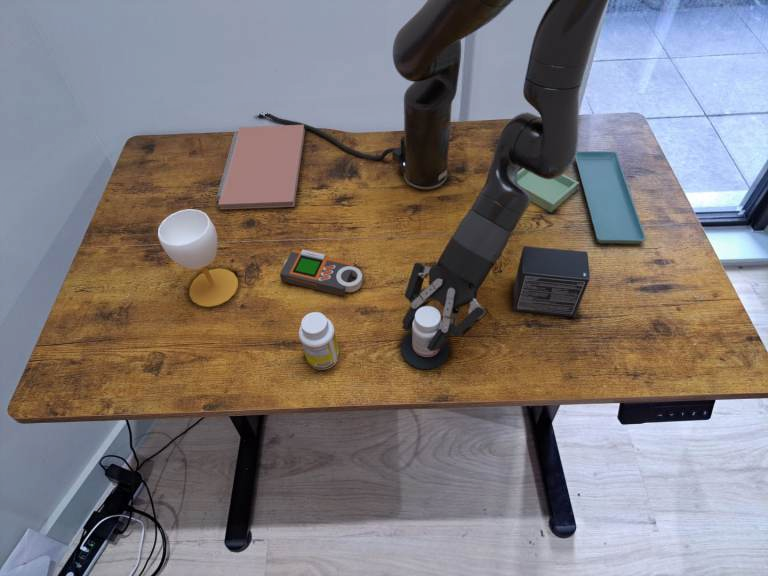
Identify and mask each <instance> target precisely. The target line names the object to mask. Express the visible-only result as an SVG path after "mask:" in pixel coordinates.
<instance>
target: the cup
mask: <svg viewBox="0 0 768 576" xmlns="http://www.w3.org/2000/svg"><path fill="white" fill-rule="evenodd" d="M157 238H158V240H159V243H160V245H161V247H162V249H163V251H164V253H166V254H167V256H168V257H169V258H170V259H171V260H172V261H173V262H175V263H176V264H178V265H179V266H181V267H183V268H185V269H187V270H198V269H201V270H202V273H200V274H199V275H197V277H195V278H194V279H193V281H192V282H191V285H190V286H189V297H190V299H191V301H192V302H193V303H194V304H196V305H198V306H199V307H205V308H211V307H217V306H218V307H219V306H220V305H223V304H224V303H226V302H229V300H230V299H231V298H232V297H234V295H236V292H237V290H238V288H239V279H238V278H237V276H236V274H235V273H234V272H233V271H231V270H229V269H227V268H220V267H219V268H212V269H208V267H207V266H209V265H210V264H211V263H212V262H213V261H214V260H215V258H216V257H217V253H218V248H219V247H218V246H219V245H218V243H219V241H218V233H217V230H216V227H215V225H214V223H213V222H212V221H211V219H210V218H209V216H208V214H207V213H206V212H204V211H201V210H199V209H194V208H193V209H192V208H188V209H181V210H178V211H176V212H174V213H172V214H169V215H168V216H167V217H166V218H164V219H163V220H162V222H161V223H160V225H159V226H158V230H157Z"/></svg>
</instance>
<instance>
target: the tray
mask: <svg viewBox="0 0 768 576" xmlns="http://www.w3.org/2000/svg"><path fill="white" fill-rule="evenodd" d="M517 183H518V184H519V185H520V186H521V187H522V188H523V189H524V190H525V191H526V192H527V193H528V194H529V196H530V199H531V201H530V202H531V203H533V204H535V205H537V206H539V207H541V208H542V209H544V210H546V211H547V212H549V213H552V212H553V211H554V210H556V209H557V208H558V207H559V206H560V205H561V204H563V203H564V202H565V201H566V200H567V199H569V198H570V197H571V196H572V195H573V194H574V193H575V192H577V190H578V187H579V184H580V182H579V181H577V180H575V179H573V178H572V177H569V176H568V175H565V173H564V174H562V175H561V176H559V177H557V178H555V179H544V178H541V177H539V176H537V175H535V174H533V173H531V172H529V171H527V170H525V169H523V168H522V167H521V169H520V170H518V173H517Z"/></svg>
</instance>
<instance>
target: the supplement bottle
mask: <svg viewBox="0 0 768 576" xmlns="http://www.w3.org/2000/svg"><path fill="white" fill-rule="evenodd" d="M298 338H299V341H300V343H301V347H302V349H303V352H304V356H305V359H306V361H307V363H308V365H309V366H310V367H312V368H313V369H316V370H318V371H319V370H321V371H322V370H323V371H324V370H328V369H330V368H333V366H334V365H336V364H337V362H338V361H339V358H340V348H339V343H338V338H337V335H336V330H335V327H334V323H333V322H332V321H331V320H330V319H329V318H328V317H326V316H325V314H323V313H322V312H318V311H312V312H309V313H307V314H305V315H304V316H303V318H302V319H301V322H300V326H299V328H298Z"/></svg>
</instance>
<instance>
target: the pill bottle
mask: <svg viewBox="0 0 768 576" xmlns="http://www.w3.org/2000/svg"><path fill="white" fill-rule="evenodd" d="M442 322H443V320H442V315H441V313H440V311H439V309H437V307H435V306H431V305H430V306H429V305H427V306H424V307H421V308H419V309H418V310H417V311H416V313H415V318H414V320H413V323H412V329H411V331H412V346H413V349H414V351H415V352H416V353H417V354H419V355H421V356H424V357H430V356H433V355H435V354H437V353H438V351H439V350H440V349H439V350H435V351H430V350H428V349H427V347H428V345H429V343H430V342H431V340H432V339H433V337H434V335H435V334H436V332H437V331H438V329H441V326H442Z"/></svg>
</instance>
